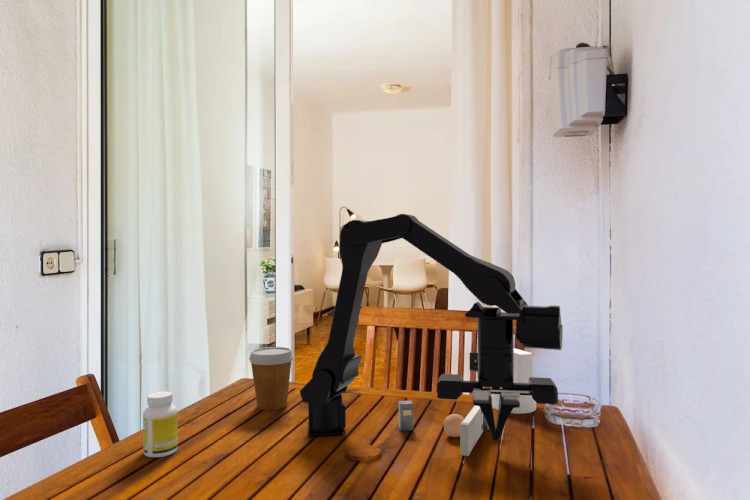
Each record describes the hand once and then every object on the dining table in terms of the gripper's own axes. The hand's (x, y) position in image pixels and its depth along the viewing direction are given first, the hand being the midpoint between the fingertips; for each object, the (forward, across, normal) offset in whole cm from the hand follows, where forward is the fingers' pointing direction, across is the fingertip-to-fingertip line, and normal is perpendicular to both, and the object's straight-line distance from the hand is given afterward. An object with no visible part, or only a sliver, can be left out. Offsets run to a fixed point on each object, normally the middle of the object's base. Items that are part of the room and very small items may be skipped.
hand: (495, 440), depth 87 cm
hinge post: (+2, +2, -12) cm, 12 cm away
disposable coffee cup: (+3, +47, -20) cm, 51 cm away
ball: (+2, +7, -7) cm, 10 cm away
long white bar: (+2, +4, -4) cm, 6 cm away
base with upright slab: (+3, -5, -27) cm, 27 cm away
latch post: (+2, +16, -10) cm, 19 cm away
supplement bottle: (+3, +56, +8) cm, 56 cm away
